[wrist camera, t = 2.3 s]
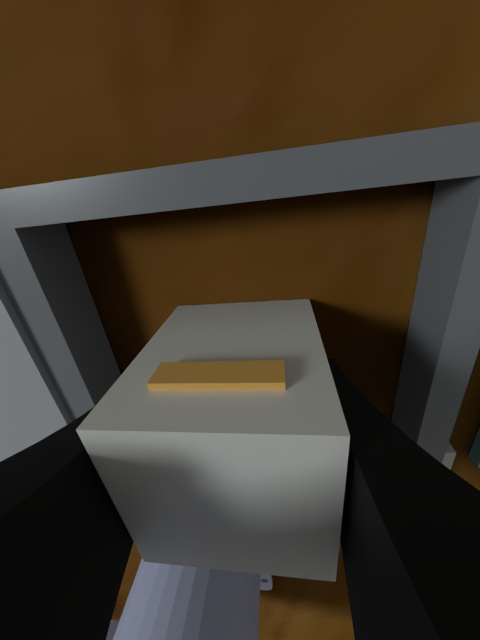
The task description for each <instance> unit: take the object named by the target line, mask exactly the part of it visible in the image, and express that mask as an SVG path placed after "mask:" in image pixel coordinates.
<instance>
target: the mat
mask: <svg viewBox="0 0 480 640" xmlns="http://www.w3.org/2000/svg"><path fill="white" fill-rule="evenodd" d="M469 457H470V459H471V460H472V461H473V463H474V464H475V466H476V467H477V468H480V427H479V430H478V432H477V435H476V437H475V440H474V443H473V445H472V448H471V450H470V453H469Z"/></svg>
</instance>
